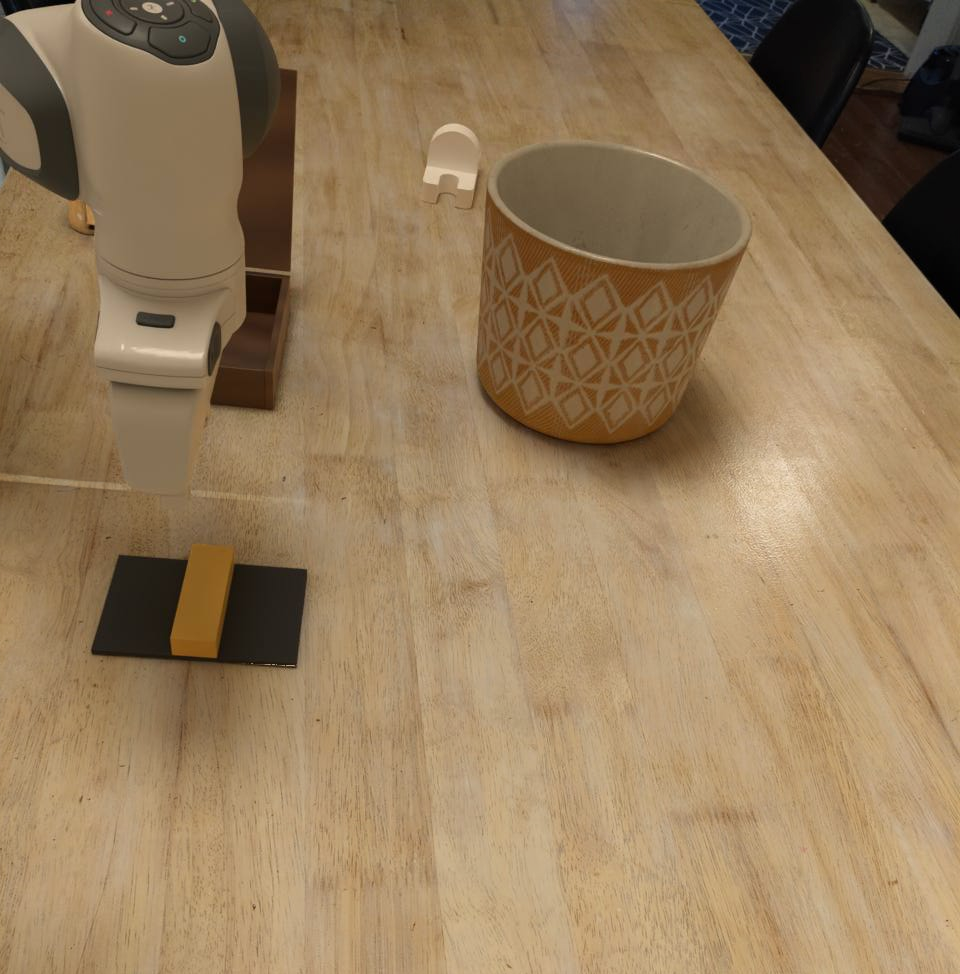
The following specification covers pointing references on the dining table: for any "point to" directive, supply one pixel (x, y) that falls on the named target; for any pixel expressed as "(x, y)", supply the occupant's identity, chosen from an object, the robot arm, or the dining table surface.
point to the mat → (247, 624)
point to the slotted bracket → (452, 165)
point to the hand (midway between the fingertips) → (187, 461)
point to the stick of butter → (203, 601)
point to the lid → (271, 187)
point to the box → (255, 345)
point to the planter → (600, 284)
